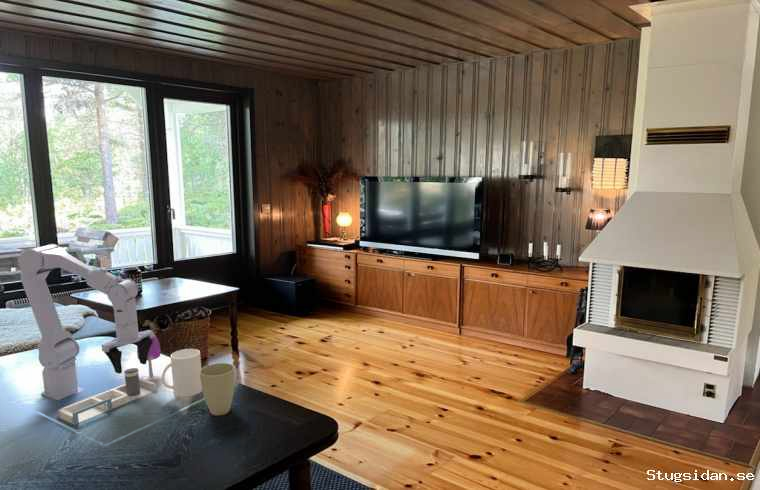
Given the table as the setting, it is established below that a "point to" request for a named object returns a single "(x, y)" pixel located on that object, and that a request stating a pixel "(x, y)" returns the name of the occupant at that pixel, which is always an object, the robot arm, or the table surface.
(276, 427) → the table surface
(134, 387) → the plug
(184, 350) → the mug
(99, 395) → the compartment tray
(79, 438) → the table surface
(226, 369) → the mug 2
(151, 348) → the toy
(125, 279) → the robot arm
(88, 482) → the table surface
